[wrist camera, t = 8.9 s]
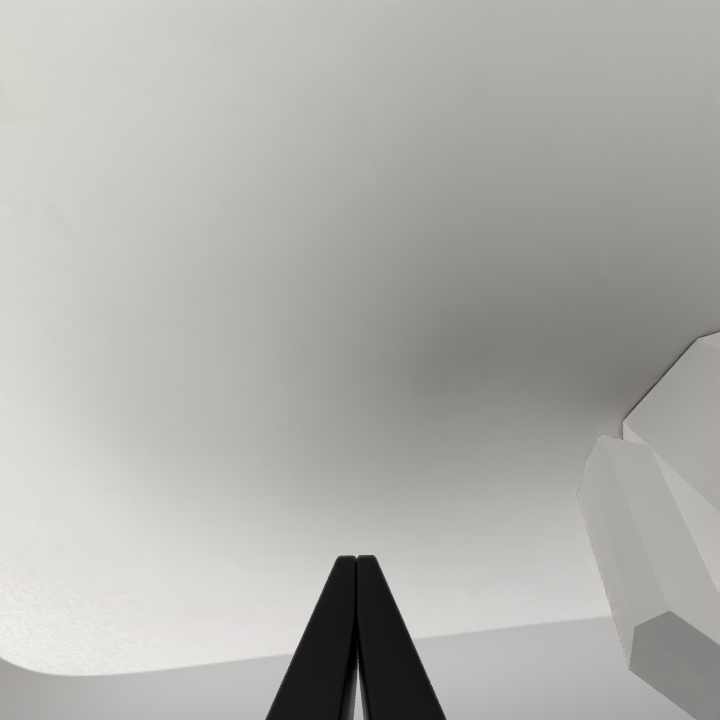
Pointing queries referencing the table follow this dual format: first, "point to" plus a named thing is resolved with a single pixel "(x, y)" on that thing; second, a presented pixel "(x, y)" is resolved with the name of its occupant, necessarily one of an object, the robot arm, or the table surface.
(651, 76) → the table surface
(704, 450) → the mug
